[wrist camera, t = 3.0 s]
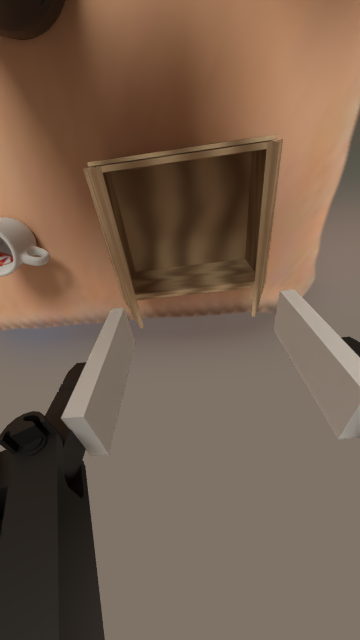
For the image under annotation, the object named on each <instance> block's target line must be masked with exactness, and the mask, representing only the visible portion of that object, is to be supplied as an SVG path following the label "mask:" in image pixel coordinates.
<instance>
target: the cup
mask: <svg viewBox="0 0 360 640" xmlns="http://www.w3.org/2000/svg"><path fill="white" fill-rule="evenodd" d="M33 255H39V256H42V257H33ZM49 258H50V255H49V252H48V251H46V250H44V249H42V248H39V247H36V239H35V237H34V235H33V233H32V231H31V230H30V229H29V228H28V227H27V226H26V225H25V224H23V223H22V222H20V221H18V220H16V219H12V218H0V276H6V275H9V274H11V273H13V272H14V271H15V270H16V269H17V268H18V267H20V266H21V265H22V264H23V263H25V264H28V265H33V266H41V265H44V264H46V263H47V262H48V261H49Z"/></svg>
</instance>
